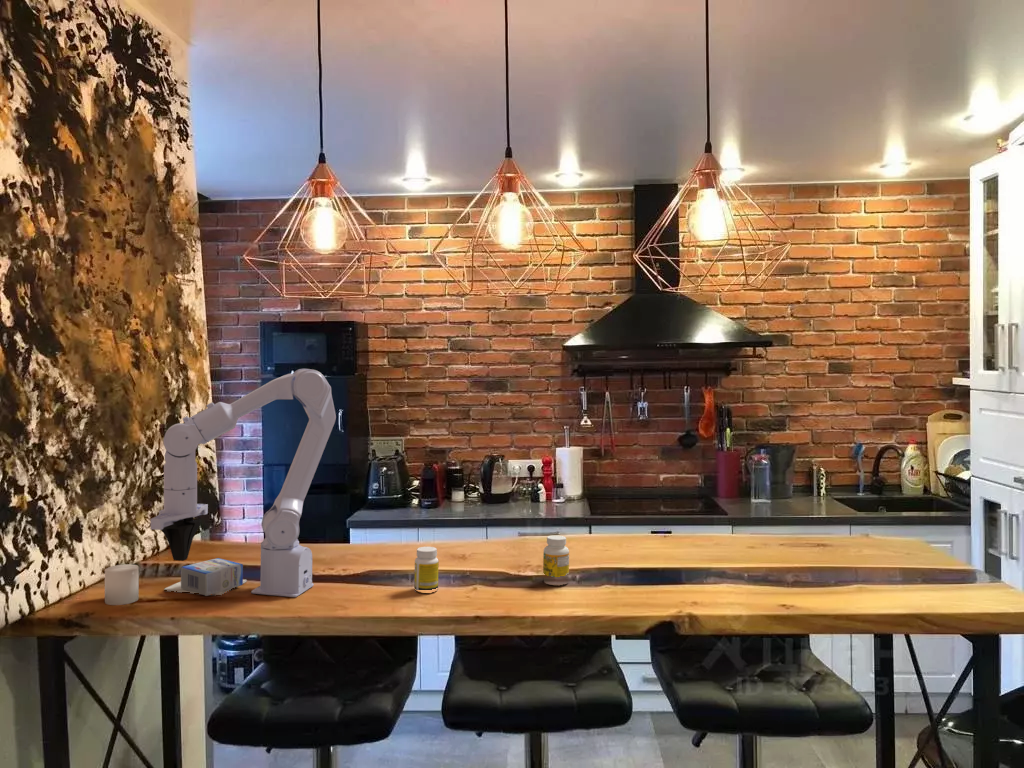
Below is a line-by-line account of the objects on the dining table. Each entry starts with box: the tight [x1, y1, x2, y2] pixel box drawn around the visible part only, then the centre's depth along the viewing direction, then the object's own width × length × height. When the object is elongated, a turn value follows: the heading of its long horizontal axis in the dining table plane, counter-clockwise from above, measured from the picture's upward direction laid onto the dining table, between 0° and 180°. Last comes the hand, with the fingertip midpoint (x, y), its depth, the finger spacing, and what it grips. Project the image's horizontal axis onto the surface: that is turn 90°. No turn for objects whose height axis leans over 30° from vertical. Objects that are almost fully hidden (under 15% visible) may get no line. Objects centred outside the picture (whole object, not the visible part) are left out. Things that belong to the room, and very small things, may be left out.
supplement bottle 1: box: [413, 546, 439, 590], centre depth 150 cm, size 5×5×8 cm
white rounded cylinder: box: [104, 563, 140, 606], centre depth 141 cm, size 6×6×6 cm
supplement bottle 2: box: [542, 534, 570, 577], centre depth 157 cm, size 5×5×10 cm
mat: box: [163, 578, 248, 596], centre depth 150 cm, size 12×10×1 cm
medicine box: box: [180, 557, 244, 597], centre depth 148 cm, size 8×4×9 cm
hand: (180, 559), depth 142 cm, fingers closed
